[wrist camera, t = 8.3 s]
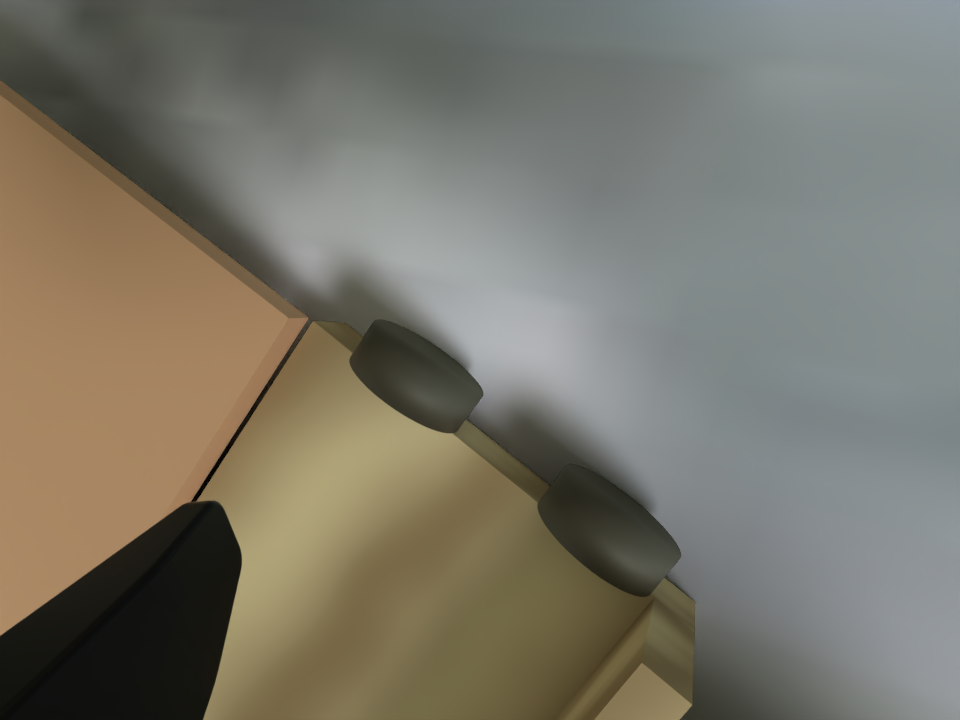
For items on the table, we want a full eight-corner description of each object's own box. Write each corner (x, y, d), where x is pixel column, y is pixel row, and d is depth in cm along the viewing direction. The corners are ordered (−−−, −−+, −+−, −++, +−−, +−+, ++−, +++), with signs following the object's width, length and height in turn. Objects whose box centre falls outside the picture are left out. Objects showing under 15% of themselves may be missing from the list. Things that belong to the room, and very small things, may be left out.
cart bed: (723, 569, 20) (731, 660, 14) (391, 965, 23) (288, 1171, 17) (365, 291, 23) (252, 273, 17) (113, 676, 26) (-55, 771, 20)
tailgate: (288, 318, 20) (-72, 39, 22) (51, 692, 23) (-252, 411, 25) (309, 317, 21) (-35, 53, 23) (80, 673, 24) (-211, 407, 26)
